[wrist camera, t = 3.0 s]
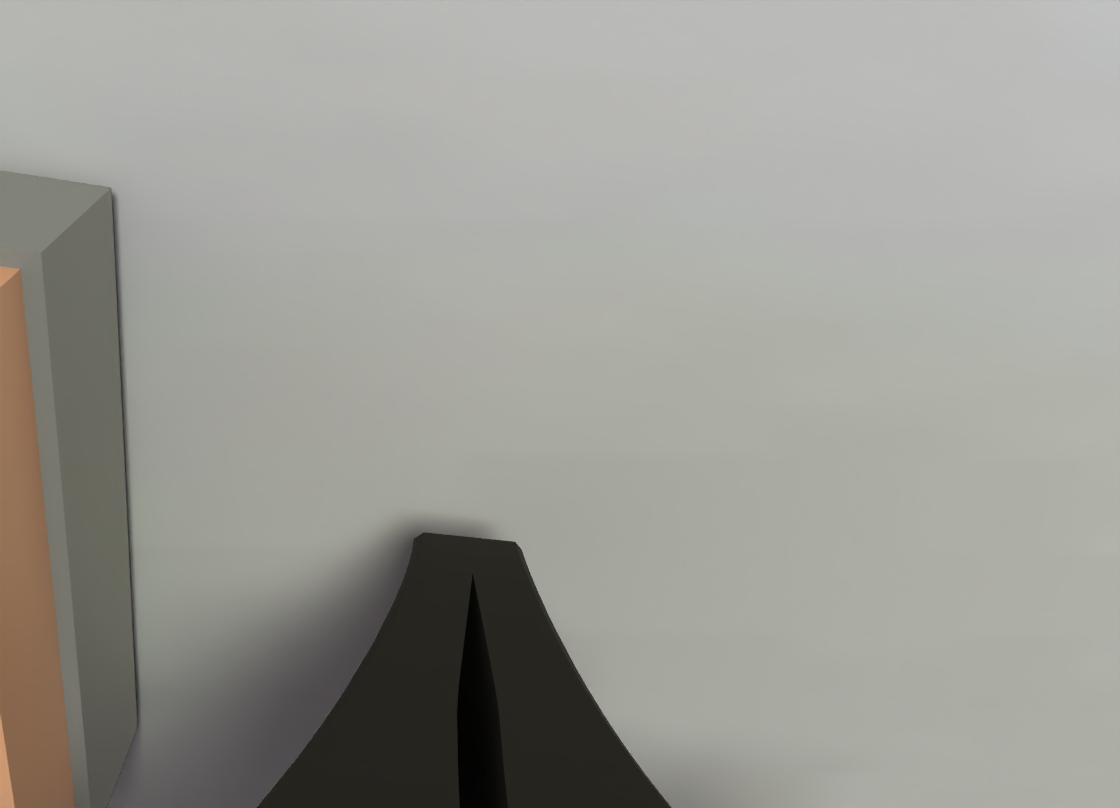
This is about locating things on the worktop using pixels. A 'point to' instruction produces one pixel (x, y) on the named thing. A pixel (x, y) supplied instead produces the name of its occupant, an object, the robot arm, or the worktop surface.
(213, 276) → the worktop surface
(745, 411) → the worktop surface
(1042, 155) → the worktop surface
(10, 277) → the base
